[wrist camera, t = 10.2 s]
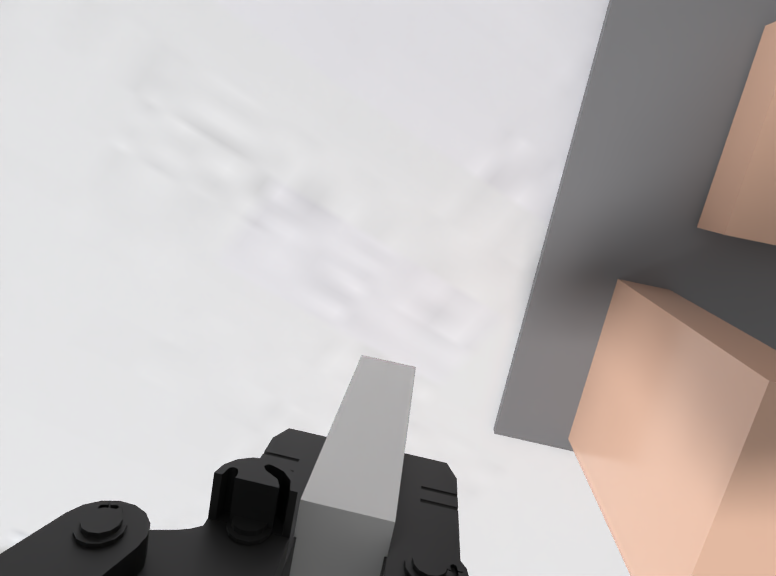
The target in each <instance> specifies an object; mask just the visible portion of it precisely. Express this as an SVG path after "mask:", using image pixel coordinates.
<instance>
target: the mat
mask: <svg viewBox="0 0 776 576" xmlns="http://www.w3.org/2000/svg"><path fill="white" fill-rule="evenodd" d="M773 22H776V0H610V1H609V5H608V8H607V12H606V16H605V20H604V23H603V27H602V31H601V34H600V38H599V42H598V45H597V49H596V53H595V56H594V60H593V64H592V68H591V71H590V75H589V79H588V82H587V86H586V90H585V93H584V97H583V101H582V104H581V108H580V112H579V116H578V119H577V123H576V127H575V130H574V134H573V138H572V141H571V145H570V149H569V152H568V156H567V160H566V164H565V167H564V171H563V175H562V178H561V182H560V186H559V189H558V193H557V197H556V200H555V204H554V208H553V212H552V215H551V219H550V223H549V226H548V230H547V234H546V237H545V241H544V245H543V248H542V252H541V256H540V260H539V263H538V267H537V271H536V274H535V278H534V282H533V285H532V289H531V293H530V296H529V300H528V304H527V308H526V311H525V315H524V319H523V322H522V326H521V330H520V333H519V337H518V341H517V344H516V348H515V352H514V356H513V359H512V363H511V367H510V370H509V374H508V378H507V381H506V385H505V389H504V392H503V396H502V400H501V404H500V407H499V411H498V415H497V418H496V422H495V426H494V434H499V435H503V436H508V437H512V438H517V439H521V440H525V441H530V442H534V443H539V444H543V445H548V446H552V447H557V448H561V449H565V450H570V451H573V448H572V446H571V444H570V442H569V440H568V438H569V435H570V431H571V428H572V425H573V422H574V418H575V415H576V412H577V409H578V406H579V402H580V399H581V396H582V393H583V389H584V386H585V383H586V380H587V377H588V373H589V370H590V367H591V364H592V360H593V357H594V354H595V351H596V348H597V344H598V341H599V338H600V335H601V331H602V328H603V325H604V322H605V318H606V315H607V312H608V309H609V306H610V302H611V299H612V296H613V293H614V289H615V286H616V283H617V280H618V279H621V280H626V281H630V282H635V283H640V284H645V285H649V286H654V287H659V288H664V289H668V290H671V291H673V292H674V293H676V294H678V295H680V296H681V297H683V298H685V299H687V300H688V301H690V302H692V303H694V304H696V305H697V306H699V307H701V308H703V309H704V310H706V311H708V312H710V313H711V314H713V315H715V316H717V317H718V318H720V319H722V320H724V321H725V322H727V323H729V324H731V325H732V326H734V327H736V328H738V329H739V330H741V331H743V332H745V333H747V334H748V335H750V336H752V337H754V338H755V339H757V340H759V341H761V342H762V343H764V344H766V345H768V346H769V347H771V348H773V349H775V350H776V245H772V244H767V243H762V242H757V241H752V240H748V239H743V238H738V237H733V236H728V235H723V234H720V233H716V232H712V231H708V230H705V229H701V228H697V226H698V223H699V220H700V217H701V214H702V211H703V208H704V205H705V202H706V199H707V196H708V193H709V190H710V187H711V184H712V181H713V178H714V175H715V172H716V169H717V167H718V164H719V161H720V158H721V155H722V152H723V149H724V146H725V143H726V140H727V137H728V134H729V131H730V128H731V125H732V122H733V119H734V116H735V113H736V110H737V108H738V105H739V102H740V99H741V96H742V93H743V90H744V87H745V84H746V81H747V78H748V75H749V72H750V69H751V66H752V63H753V60H754V57H755V54H756V51H757V48H758V46H759V43H760V40H761V37H762V34H763V31H764V28H765V26H766V25H768V24H771V23H773Z"/></svg>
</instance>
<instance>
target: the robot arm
mask: <svg viewBox="0 0 776 576" xmlns="http://www.w3.org/2000/svg"><path fill="white" fill-rule="evenodd" d="M415 369H416V367H413V366H408V365H404V364H399V363H395V362H390V361H386V360H381V359H377V358H372V357H368V356H364V355H362V356H361V358H360V361H359V363H358V365H357V368H356V370H355V372H354V375H353V377H352V379H351V382H350V384H349V386H348V389H347V391H346V393H345V396H344V398H343V401H342V403H341V405H340V408H339V410H338V412H337V415H336V417H335V419H334V422H333V424H332V426H331V429H330V431H329V433H328V436H327V437H324V436H320V435H316V434H311V433H307V432H303V431H298V430H294V429H290V428H289V429H287V430H286V431H284V432H282V433H280V434H279V435H277V436H275V437H273V439H272V440H271V442H270V443H269V445H268V447H267V448H266V450H265V452H264V454H263V455H262V456H261V458H246V459H237V460H234V461H232V462H229V463H226V464H224V465H223V466H221V467H220V468H219V469H218V470H217V471H216V472H214V479H213V486H212V493H211V501H210V508H209V515H208V519H207V521H206V522H205V524H204V525H203V526H200V527H196V528H192V529H182V530H150V522H149V519H148V517H147V514H146V513H145V512H144V511H143V510H141V509H140V508H138V507H137V506H136V505H133V504H129V503H126V502H122V501H99V502H94V503H89V504H85V505H82V506H80V507H77V508H75V509H73V510H71V511H69V512H67V513H65V514H63V515H62V516H60V517H59V518H57V519H55V520H54V521H52V522H51V523H49V524H47V525H46V526H44V527H43V528H41V529H39V530H38V531H36V532H35V533H33V534H31V535H30V536H28V537H27V538H25V539H23V540H22V541H20V542H19V543H17V544H15V545H14V546H12V547H11V548H9V549H7V550H6V551H4V552H3V553H1V554H0V576H469V575H468V572H467V569H466V567H465V566H464V565H463V564H462V562H461V561H460V543H459V521H458V511H457V510H458V498H457V478H456V477H455V475H454V474H453V472H452V471H451V469H450V468H449V466H448V464H447V463H444V462H440V461H435V460H431V459H427V458H423V457H418V456H414V455H410V454H405V453H404V452H405V445H406V437H407V429H408V422H409V414H410V407H411V399H412V392H413V384H414V377H415Z"/></svg>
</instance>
